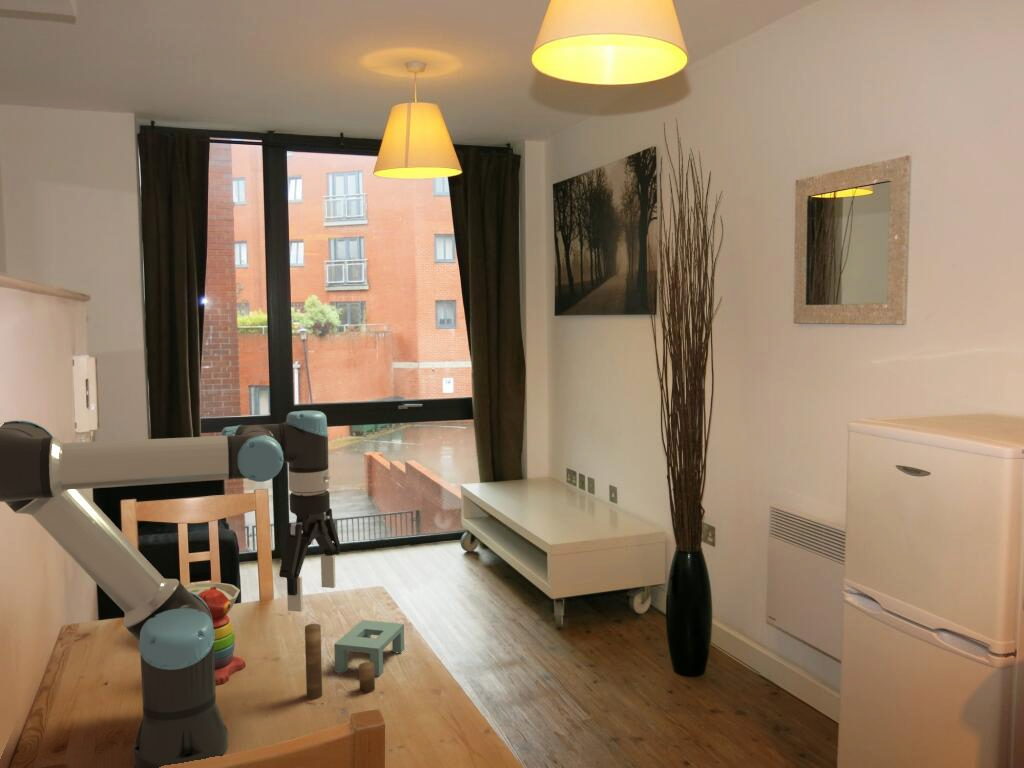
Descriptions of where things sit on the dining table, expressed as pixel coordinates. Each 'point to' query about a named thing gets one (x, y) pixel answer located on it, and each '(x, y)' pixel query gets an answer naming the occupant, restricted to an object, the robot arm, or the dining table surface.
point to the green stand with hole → (369, 643)
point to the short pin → (367, 677)
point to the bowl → (226, 589)
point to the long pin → (313, 661)
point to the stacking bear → (222, 635)
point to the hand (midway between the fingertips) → (312, 598)
